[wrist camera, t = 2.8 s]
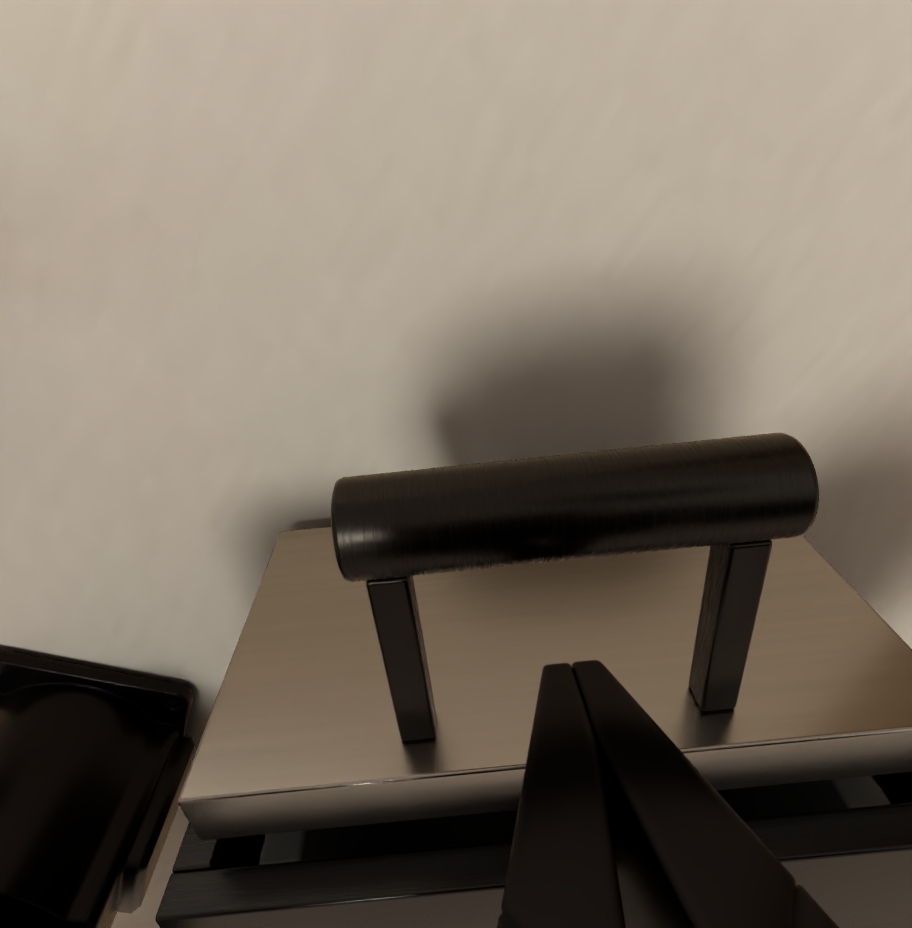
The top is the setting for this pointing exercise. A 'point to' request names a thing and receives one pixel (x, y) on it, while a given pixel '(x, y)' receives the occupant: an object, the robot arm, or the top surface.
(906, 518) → the top surface
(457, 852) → the small drawer cabinet
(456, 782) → the dish drawer
